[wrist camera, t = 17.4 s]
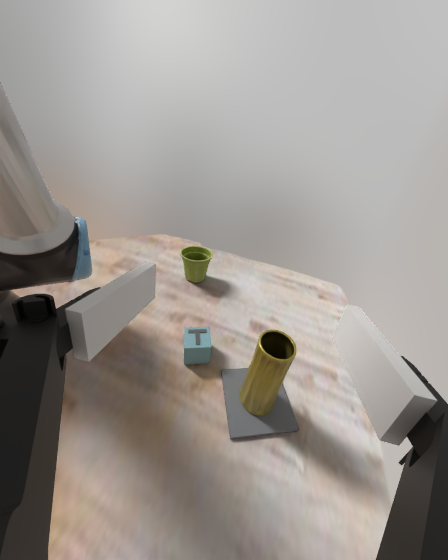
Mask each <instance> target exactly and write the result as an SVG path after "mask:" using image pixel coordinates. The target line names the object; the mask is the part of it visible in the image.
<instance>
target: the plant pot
mask: <svg viewBox="0 0 448 560" xmlns="http://www.w3.org/2000/svg"><path fill="white" fill-rule="evenodd" d="M180 255H181V256H182V259H183V262H184V270H185V277H186V279H187V280H188V281H191V282H194V283H198V282H202V281H203V280H204V279H205V276H206V272H207V268H208V264H209V262H210V259H211V258H212V256H213V254H212V252H211V251H210V250H209V249H207V248H204V247H200V246H189V247H185V248H183V249H182V250H181V251H180Z"/></svg>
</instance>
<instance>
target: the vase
mask: <svg viewBox="0 0 448 560" xmlns="http://www.w3.org/2000/svg"><path fill="white" fill-rule="evenodd" d="M295 355H296V345H295V343H294V341H293V340H292V339H291V338H290V337H289V336H288V335H287V334H285V333H284V332H281V331H278V330H267V331H265V332H263V333H262V334H261V335H260V336H259V340H258V344H257V347H256V350H255V353H254V356H253V359H252V362H251V364H250V366H249V368H248V371H247V374H246V376H245V379H244V383H243V384H242V386H241V389H240V400H241V403H242V405H243V406H244V408H245V409H246V410H247V411H248V412H250V413H251V414H253V415H257V416H263V415H266V414H268V413H269V412H270V411H271V410H272V409H273V407H274V403H275V400H276V397H277V394H278V392H279V390H280V388H281V385H282V383H283V380H284V378H285V376H286V373H287V371H288V369H289V367H290V365H291V363H292V361H293V359H294V358H295Z"/></svg>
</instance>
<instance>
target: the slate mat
mask: <svg viewBox="0 0 448 560" xmlns="http://www.w3.org/2000/svg"><path fill="white" fill-rule="evenodd" d="M247 371H248V368H242V369H225V370H221V374H222V381H223V389H224V396H225V404H226V411H227V418H228V426H229V433H230V439H236V438H245V437H253V436H261V435H270V434H278V433H286V432H295V431H298V430H299V428H298V426H297V423H296V420H295V417H294V415H293V412H292V409H291V407H290V404H289V401H288V399H287V396H286V393H285V391H284V388H283V385H281V388H280V390H279V392H278V394H277V397H276V400H275V403H274V407H273V409H272V410H271V411H270V412H269V413H268V414H266V415H263V416H257V415H253V414H251V413H250V412H248V411H247V410H246V409H245V408H244V406H243V405H242V403H241V400H240V389H241V386H242V384H243V383H244V379H245V376H246V374H247Z"/></svg>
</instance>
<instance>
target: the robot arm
mask: <svg viewBox="0 0 448 560" xmlns="http://www.w3.org/2000/svg"><path fill="white" fill-rule="evenodd" d="M91 274H92V264H91V256H90V248H89V239H88V232H87V224H86V221H85V219H83V218H78V217H73V216H72V214H71V212H70V211H69V210H68V208H66V207H65V206H64V205H62V204H61V203H59V202H57V201H55V200H53V197H52V195H51V193H50V191H49V189H48V186H47V184H46V182H45V180H44V178H43V175H42V173H41V171H40V169H39V167H38V165H37V162H36V160H35V158H34V156H33V154H32V151H31V149H30V147H29V145H28V142H27V141H26V138H25V136H24V134H23V132H22V130H21V127H20V125H19V123H18V121H17V118H16V116H15V114H14V112H13V110H12V107H11V105H10V103H9V101H8V99H7V97H6V94H5V92H4V90H3V88H2V85H1V83H0V560H48V542H49V532H50V522H51V512H52V502H53V492H54V481H55V471H56V461H57V451H58V441H59V431H60V421H61V411H62V400H63V390H64V380H65V370H66V355H65V354H66V353H67V352H69V351H70V350H71V349H73V354H74V358H76V359H80V360H83V361H87V362H89V361H90V360H91V359H92V358H93V357H94V356H96V355H97V354H98V353H99V352H100V351H101V350H102V349H103V348H104V347H105V346H106V345H107V344H108V343H109V342H110V341H111V340H112V339H113V338H114V337H115V336H116V335H117V334H118V333H119V332H120V331H121V330H122V329H123V328H124V327H125V326H126V325H127V324H128V323H129V322H130V321H131V320H132V319H133V318H134V317H136V316H137V315H138V314H139V313H140V312H141V311H142V310H143V309H144V308H145V307H146V306H147V305H148V304H149V303H150V302H151V301H152V300H153V299H154V298H155V276H156V264H155V263H150V262H144V263H142V264H140V265H139V266H137V267H135V268H134V269H132V270H130V271H129V272H127V273H125V274H124V275H122V276H120V277H118V278H117V279H115V280H113V281H112V282H110V283H108V284H107V285H105V286H103V287H102V288H100V287H98V288H95V289H92V290H89V291H87V292H85V293H84V294H82V295H81V296H78V297H77V298H75V299H73V300H71V301H69V302H68V303H66V304H64V305H62V306H61V307H59V308H57V309H56V307H55V302H54V298H53V296H51V295H48V294H33V295H28V296H24V297H21V298H20V297H19V296H17V295H16V294H15V293H13V292H12V291H11V290H13V289H20V288H27V287H34V286H41V285H48V284H56V283H64V282H73V281H75V280H80V279H85V278H88V277H89V276H90V275H91ZM332 340H333V342H334V344H335V346H336V348H337V350H338V353H339V355H340V357H341V359H342V361H343V363H344V365H345V368H346V370H347V372H348V374H349V376H350V378H351V380H352V383H353V385H354V387H355V389H356V391H357V393H358V395H359V398H360V400H361V402H362V404H363V406H364V408H365V410H366V413H367V415H368V417H369V419H370V421H371V423H372V425H373V428H374V430H375V432H376V434H377V436H378V438H379V440H381V441H384V442H388V443H392V444H395V445H400V444H401V443H402V441H403V440H404V439H405V438H406V437H408V439H409V440H410V442H411V444H412V445H413V447H412V449H411V450H410V451H409V452H408V453H407V454H406V455H405V456H404V457H403V458H402V460H401V461H400V462H399V463H400V464H401V465H403V464H404V463H405V464H404V468H403V471H402V474H401V478H400V481H399V484H398V488H397V491H396V495H395V498H394V501H393V504H392V508H391V511H390V514H389V518H388V521H387V524H386V528H385V531H384V534H383V538H382V541H381V544H380V548H379V551H378V554H377V558H376V560H448V404H447V403H446V402H445V400H444V399H443V398H442V397H441V396H440V395H439V394H438V392H437V391H436V390H435V389H434V388H433V387H432V386H431V384H429V383H428V381H427V380H426V379H425V377H424V376H422V375H421V373H420V372H419V371H418V369H417V368H416V367H415V366H414V365H413V364H412V363H410V362H409V361H408V360H407V359H405V358H404V357H403V356H400V355H399V354H398V353H397V351H396V350H395V349H394V348H393V347H392V345H391V344H390V343H389V342H388V341H387V340H386V338H385V337H384V336H383V335H382V333H381V332H380V331H379V330H378V329H377V328H376V326H375V325H374V324H373V323H372V322H371V320H370V319H369V318H368V317H367V316H366V314H365V313H364V312H363V311H362V310H361V309H360V307H357V306H353V305H348V304H347V306H346V308H345V310H344V312H343V314H342V316H341V319H340V321H339V323H338V325H337V327H336V329H335V332H334V334H333V336H332Z"/></svg>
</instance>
